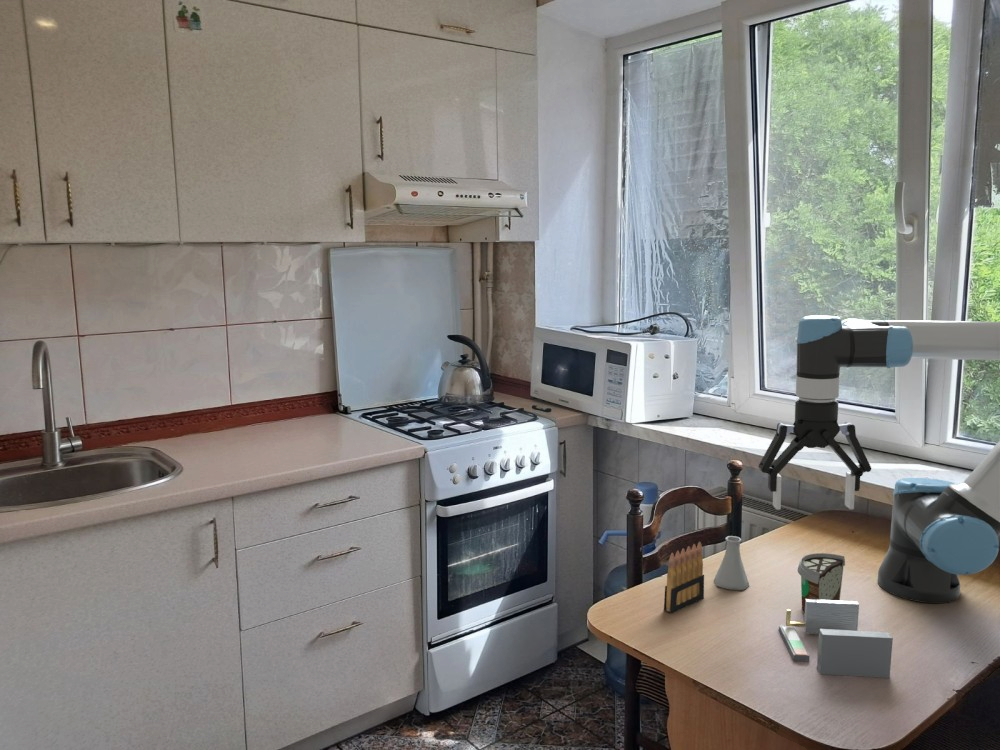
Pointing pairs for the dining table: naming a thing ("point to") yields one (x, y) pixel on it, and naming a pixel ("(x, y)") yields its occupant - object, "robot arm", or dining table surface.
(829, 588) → the food container
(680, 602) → the ammunition clip
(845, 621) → the plate
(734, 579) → the flask
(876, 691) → the dining table surface
